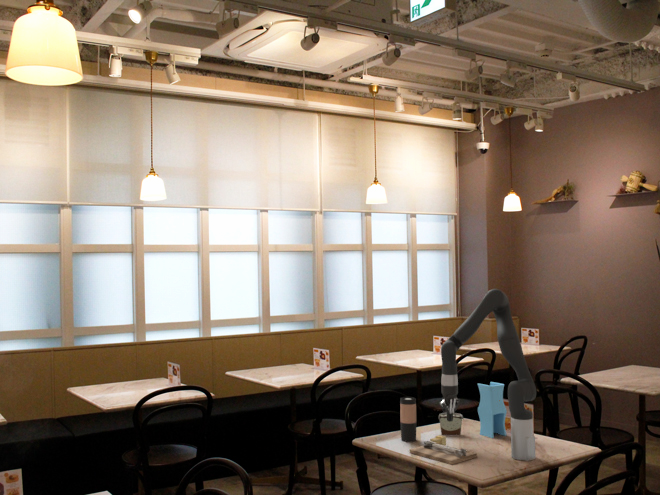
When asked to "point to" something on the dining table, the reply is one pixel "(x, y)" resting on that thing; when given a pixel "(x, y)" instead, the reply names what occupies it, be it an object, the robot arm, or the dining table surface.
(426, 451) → the wooden board with rail
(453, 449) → the tongs upper arm
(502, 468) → the dining table surface
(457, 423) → the food container
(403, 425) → the travel mug
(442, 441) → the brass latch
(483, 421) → the light blue flared block
